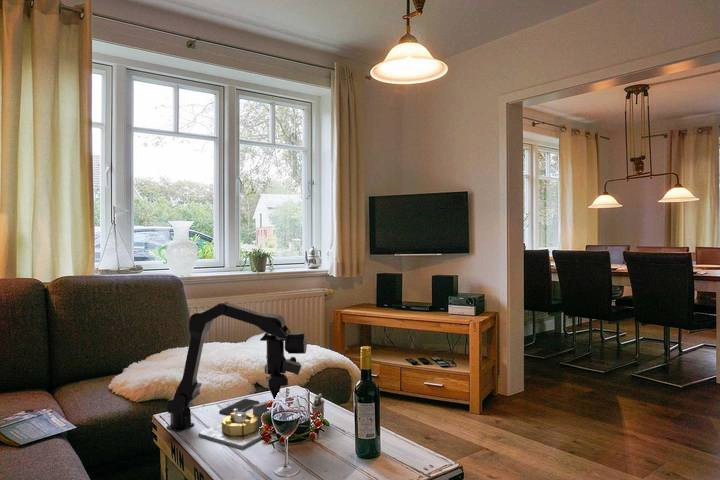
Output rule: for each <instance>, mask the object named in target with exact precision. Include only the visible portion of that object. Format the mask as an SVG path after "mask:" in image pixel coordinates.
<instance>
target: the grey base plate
mask: <svg viewBox="0 0 720 480" xmlns="http://www.w3.org/2000/svg"><path fill="white" fill-rule="evenodd" d="M233 413H235V414H234V423H244V420H246V413H247V412H246V411H245V412H238V409H237V408H235V409H233ZM261 426H262V423H260V424H258V427H257V429H256V431H254V432H251V433H248V434H245V435H243V434H242V435H227V434H225V433H224V432H222V422H221V423H218V424H216V425H214V426H211V427H209V428H207V429H205V430H203V431H201V432H198V437H199V438H203V439H206V440H210V441H213V442H217V443H219V444H220V443H221V444H224V445H227V446H230V447H233V448H237V449H241V450H244V449H246V448H247V447H250V446H251V445H253V444H255V443H257V442H258V441H260V440H262V439H261V436H260V434H259V427H261Z"/></svg>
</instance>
